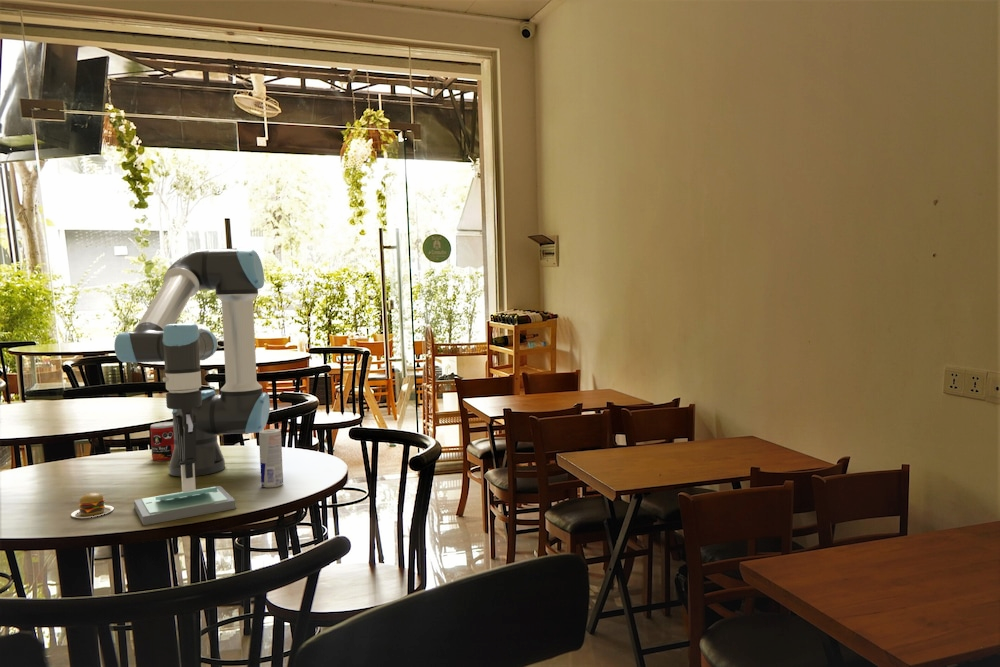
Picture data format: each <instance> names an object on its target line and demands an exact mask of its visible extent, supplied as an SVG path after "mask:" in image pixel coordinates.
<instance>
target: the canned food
mask: <svg viewBox="0 0 1000 667" xmlns="http://www.w3.org/2000/svg"><path fill="white" fill-rule="evenodd" d="M150 445H151V447H150V448H151V458H152V460H153V461H157V462H165V461H171V457H172V454H173V451H174V428H173V421H164V422H157V423H153V424H151V425H150Z"/></svg>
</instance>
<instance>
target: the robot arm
mask: <svg viewBox="0 0 1000 667" xmlns="http://www.w3.org/2000/svg"><path fill="white" fill-rule="evenodd" d="M264 273H265V272H264V267H263V264H262V261H261V257H260V256H259V254H258V253H257V251H255V250H254V249H251V248H244V247H243V248H242V247H241V248H240V247H235V248H212V249H211V248H203V249H197V250H194V251H191V252H189V253H187V254H185V255H184V256H181V257H180V258H178V259H177V260H176V261H175V262H173V264H171V266H170V267H168V268H167V270H166V271H165V274H164V275H163V278H162V282H163V284H162V286H161V287H160V288H159V289H158V292H157V293H156V295H155V297H154V298H153V299H152V301H151V303H149V304H150V305H149V306H148V307H147V309H146V311H145V312H144V314H143V315H142V317H141V319H140V320H139V322H138V323H137V325H136V326H135V328H134V330H132V331H129V330H127V331H123V332H119V333H118V334H117V335H116V337H115V339H114V352H115V356H116V358H117V359H118V360H119V362H122V363H135V364H138V363H139V364H140V363H141V364H142V363H158V362H160V363H161V362H163V363H164V373H165V374H164V375H165V377H162V381H163V383H165V390H167V391H168V392H166V393H165V398H166V399H165V400H166V402H165V403H166V407H167V409H168V410H172V412H171V414H172V422H173V428H174V451H173V454H172V457H171V460H169V461H170V462H169V465H168V472H169V475H170V476H173V477H180V478H181V479H180V480H181V492H189V491H195V490H197V489H196V487H197V486H196V477H197V476H206V475H211V474H214V473H218V472H220V471H223V470H224V469H225V468H226V463H225V462H226V460H225V458H224V455H223V453H222V450H221V448H220V446H219V443H218V435H231V434H232V435H233V434H235V435H236V434H245V435H249V434H254V433H259V432H260V431H262V430H265V428H266V426H267V423H268V420H269V416H270V408H271V407H270V406H271V403H270V402H271V400H270V395H269V393H267V392H265V391H264V390H263V385H262V384H260V383H259V382H258V381H257V361H256V360H257V358H256V355H257V354H256V338H255V336H256V335H255V314H254V299H256V298H257V296H259V290H260V289H262V288H264V285H265V274H264ZM201 290H202V291H203V290H215V296H216V297H217V298H218V299H219V300H220V301H221V310H222V311H221V313H222V332H223V349H224V350H223V352H224V369H225V370H224V373H225V374H224V375H225V383H224V385H223V386H222V387H221V388H220V394H217V393H216V391H215V389H204V390H200V389H201V388H202V373H201V372H202V371H201V361H205V360H207V359H208V358H210V357H212V356H214V355H215V353H216V352H217V349H218V339H217V337H216V335H215V334H214V333H213V332H212V331H210V330H207V329H203V328H199V326H198V325H197V324H196V323H192V322H190V323H189V322H188V323H183V322H182V323H177V321H178V320H179V318H180V316H181V314H182V312H183V311H184V309H185V307H186V305H187V303H188V302H189V299H190V298H191V297H193V296H195V295H197V293H198V292H199V291H201ZM263 391H264V392H263Z"/></svg>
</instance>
